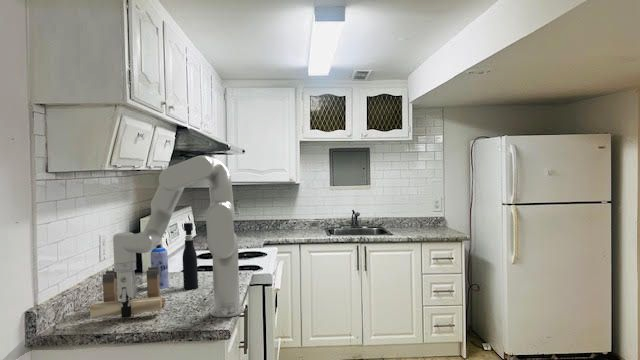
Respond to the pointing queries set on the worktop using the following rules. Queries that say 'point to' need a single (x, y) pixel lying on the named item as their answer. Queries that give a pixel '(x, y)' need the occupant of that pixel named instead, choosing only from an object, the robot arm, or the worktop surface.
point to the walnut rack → (112, 286)
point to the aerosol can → (161, 265)
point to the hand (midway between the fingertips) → (127, 314)
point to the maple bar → (115, 307)
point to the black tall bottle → (189, 261)
